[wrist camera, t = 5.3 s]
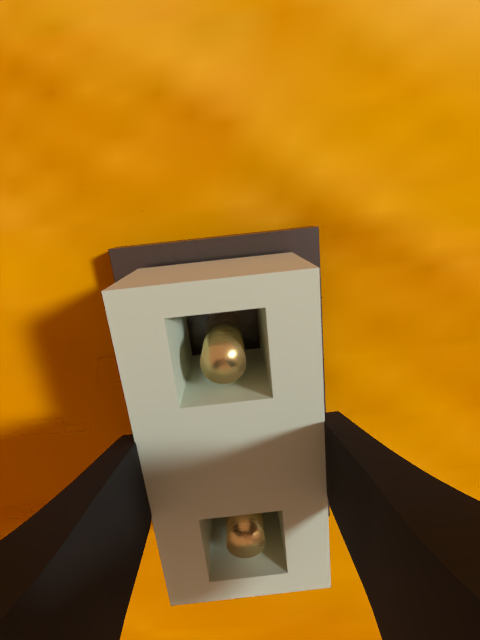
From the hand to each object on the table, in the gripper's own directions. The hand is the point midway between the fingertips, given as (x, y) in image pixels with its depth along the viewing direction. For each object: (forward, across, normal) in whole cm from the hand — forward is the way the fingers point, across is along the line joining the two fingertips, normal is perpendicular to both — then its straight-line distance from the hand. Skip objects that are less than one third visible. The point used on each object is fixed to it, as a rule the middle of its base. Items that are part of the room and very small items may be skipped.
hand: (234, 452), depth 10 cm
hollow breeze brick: (+3, 0, 0) cm, 3 cm away
